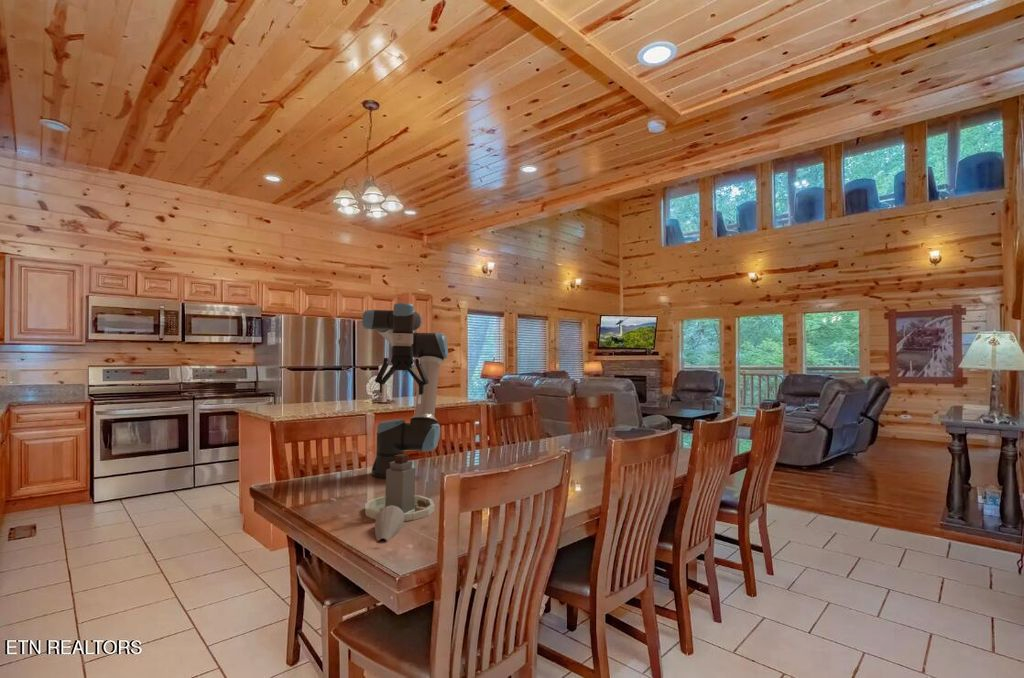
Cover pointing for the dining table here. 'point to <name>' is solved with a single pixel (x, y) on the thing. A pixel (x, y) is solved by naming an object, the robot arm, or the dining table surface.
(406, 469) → the perfume bottle
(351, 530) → the dining table surface
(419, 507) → the bead
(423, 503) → the bead
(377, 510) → the tray
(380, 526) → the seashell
